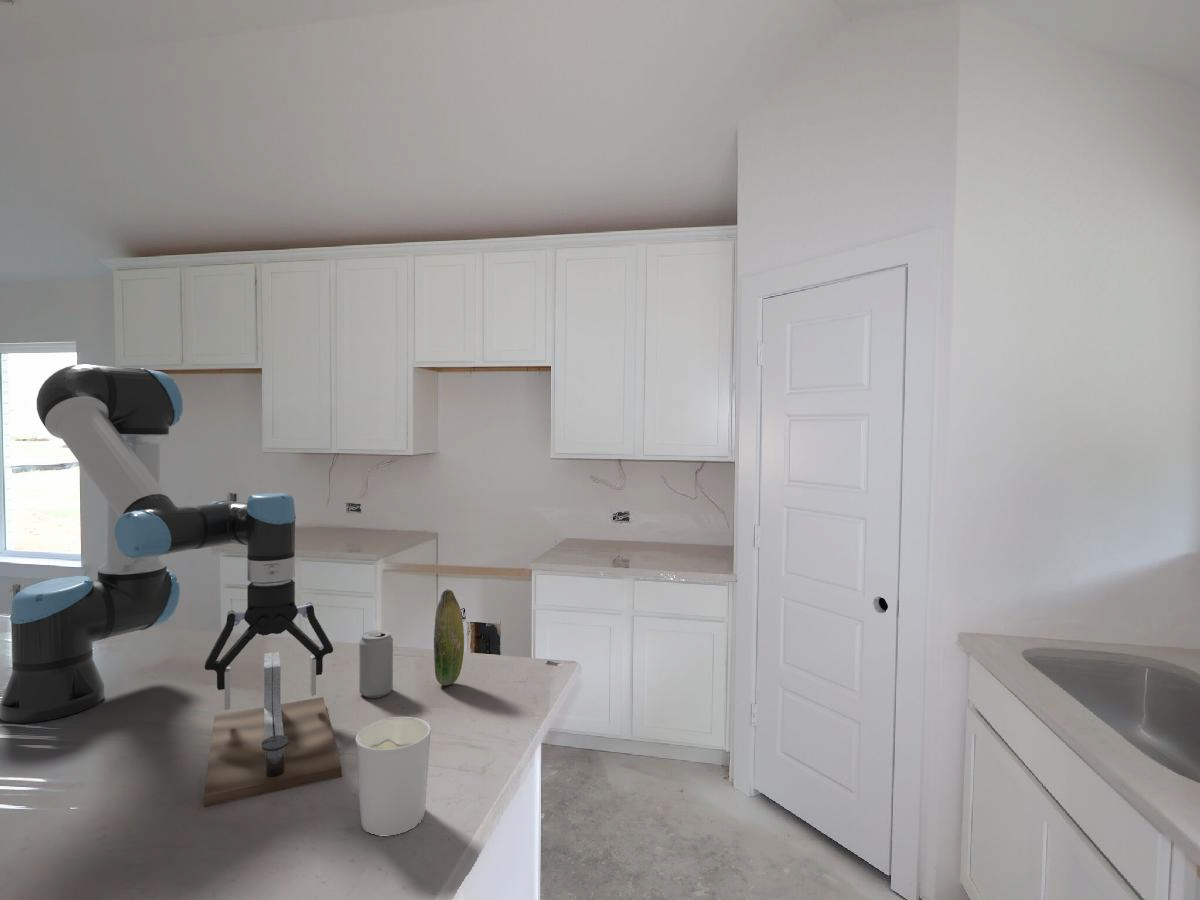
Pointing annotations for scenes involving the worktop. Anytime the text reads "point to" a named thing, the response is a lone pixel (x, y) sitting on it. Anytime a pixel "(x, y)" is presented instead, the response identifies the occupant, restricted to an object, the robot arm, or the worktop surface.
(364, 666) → the beverage can
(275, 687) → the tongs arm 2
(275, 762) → the tongs hinge post
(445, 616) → the vegetable
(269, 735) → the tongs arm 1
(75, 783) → the worktop surface
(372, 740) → the candle holder
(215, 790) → the walnut board
